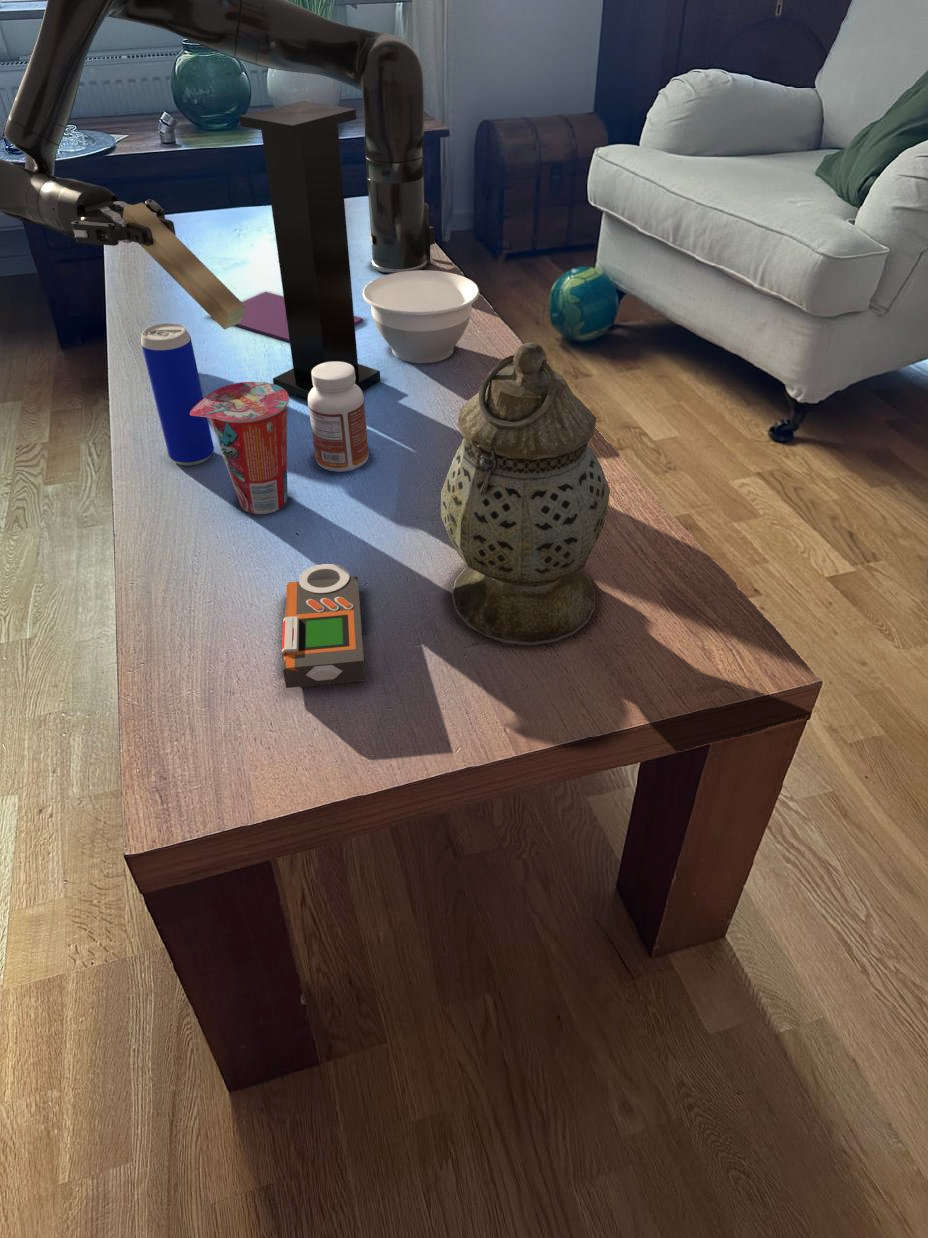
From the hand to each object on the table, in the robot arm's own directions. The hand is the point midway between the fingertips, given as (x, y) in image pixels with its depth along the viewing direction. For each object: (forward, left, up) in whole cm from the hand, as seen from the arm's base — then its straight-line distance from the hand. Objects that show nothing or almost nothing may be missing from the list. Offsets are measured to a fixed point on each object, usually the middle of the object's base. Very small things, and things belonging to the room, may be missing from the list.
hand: (161, 233), depth 116 cm
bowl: (-24, +24, -16) cm, 38 cm away
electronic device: (+23, +63, -16) cm, 69 cm away
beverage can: (+15, +27, -16) cm, 35 cm away
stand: (-7, +23, -16) cm, 29 cm away
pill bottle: (+3, +40, -16) cm, 43 cm away
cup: (+15, +41, -16) cm, 47 cm away
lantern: (+7, +72, -16) cm, 74 cm away
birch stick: (0, +2, -5) cm, 5 cm away
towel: (-17, +1, -16) cm, 23 cm away
